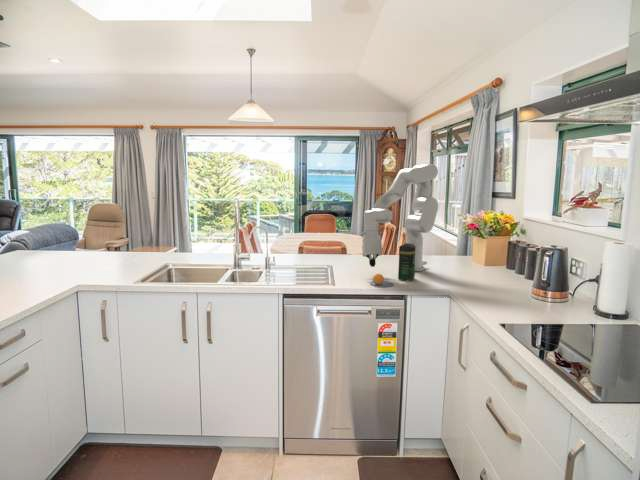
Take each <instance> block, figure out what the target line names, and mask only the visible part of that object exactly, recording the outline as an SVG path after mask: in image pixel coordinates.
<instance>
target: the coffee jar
mask: <svg viewBox="0 0 640 480" xmlns="http://www.w3.org/2000/svg"><path fill="white" fill-rule="evenodd" d="M415 273H416V271H415V245H413V244H408V243H406V242H405V244H402V245H400V246H399V247H398V274H397V278H398V280H401V281H413V280H414V279H415Z"/></svg>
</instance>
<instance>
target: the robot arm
mask: <svg viewBox="0 0 640 480" xmlns="http://www.w3.org/2000/svg"><path fill="white" fill-rule="evenodd" d="M438 173H439V170H438V167H437V166H436V165H435V164H433V163H425V164H424V163H423V164H417V165H414V166H412V167H409V168H407V167H406V168H402V169H400V170H399V171H398V173H397V174H396V177H394V180H393V182H392V183H391V185H390V186H389V188H388V189H387V191H385V192H384V193H383V194H382V195H381V196H379V198H378V199H377V200H376V201H375V203H374V204H373V206H372V208H371V209H369V210H365V211H364V212H363V231H362V232H361V235H363V237H362V243H361V244H362V247H361V249H362V257H365V258H367V259H368V260H369V262H368V263H369V265H370V267H371V268H373V267H374V268H375V266H376V259H377V258H378V257H379V256H382V254H383V253H382V252H383V245H382V238H381V235H380V234H379V224H387V223H390V222H391V221H392V220H393V218H394V214H393V211H391V210H390V209H387V207H388V206H389V205H391V204H393V203H395V202H397V201H400V200H401V199H402V198H403V196H404V195H405V193H406V192H407V189H408V188H409V186H410V185H416V187H415V188H416V189H415V192H414V196H413V200H412V204H411V208H412V211H413V212H414V213H418V214H410V215H408V216H407V217H406V218H405V220H404V230H405V244H406V243H408V244H413V245H415V272H422V271H425V269H426V267H425V266H426V265H427V264H428V262H427V261H426V260H425V261H423V250H424V249H423V247H424V246H423V245H424V237H423V233H424V234H428V233H430V232H431V231H432V229H433V227H434V225H435V222H436V221H435V220H436V218H437V216H438V215H437V214H438V210H439V203H438V200H437V199H436V198H435V197H433V196H431V194H432V188H433V187H432V183H431V181H432V180H434V179H435V178H437V177H438V176H437V175H438Z"/></svg>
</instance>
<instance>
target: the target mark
mask: <svg viewBox="0 0 640 480" xmlns="http://www.w3.org/2000/svg"><path fill="white" fill-rule="evenodd" d="M369 285H370V286H372V287H376V286H377V287H376V288H390V287H393V286H395V283H394V282H392V281H386V280H384V282H383V283H382V284H381V285H376V284H375V283H374V282H373V281H370V282H369Z"/></svg>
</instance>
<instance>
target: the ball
mask: <svg viewBox="0 0 640 480" xmlns="http://www.w3.org/2000/svg"><path fill="white" fill-rule="evenodd" d="M384 281H385V277H384V276H383V275H382V274H381V273H376V274H374V275H373V277H372V282H374V283H375V284H376V285H381V284H382V283H383V282H384Z"/></svg>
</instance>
